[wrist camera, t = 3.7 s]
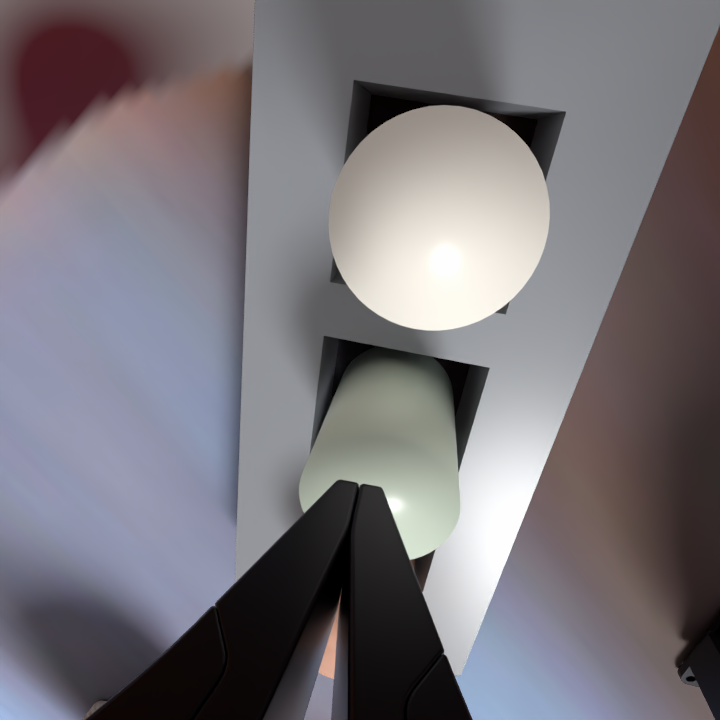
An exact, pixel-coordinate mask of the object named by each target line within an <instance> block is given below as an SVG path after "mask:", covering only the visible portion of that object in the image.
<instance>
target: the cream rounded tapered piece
mask: <svg viewBox="0 0 720 720" xmlns="http://www.w3.org/2000/svg"><path fill="white" fill-rule="evenodd" d="M549 221H550V203H549V196H548V190H547V185H546V182H545V179H544V176H543V172H542V170H541V168H540V166H539V164H538V162H537V160H536V158H535V156H534V155H533V153H532V152H531V150H530V149H529V147H528V146H527V144H526V143H525V142H524V141H523V140H522V139H521V138H520V137H519V136H518V135H517V133H515V132H514V131H513V130H512V129H510V128H509V127H508V126H507V125H505V124H504V123H502V122H501V121H499V120H497V119H496V118H494V117H492V116H490V115H488V114H485V113H483V112H480V111H478V110H475V109H470V108H466V107H462V106H450V105H439V106H427V107H423V108H418V109H414V110H411V111H408V112H405V113H403V114H400V115H398V116H396V117H394V118H392V119H390V120H388V121H387V122H385V123H383V124H382V125H380V126H379V127H378V128H376V129H375V130H374V131H372V132H371V133H370V134H369V135H368V136H367V137H366V138H365V139H364V140H363V141H362V142H360V144H359V145H358V146H357V147H356V149H355V150H354V151H353V152H352V154H351V155H350V156H349V158H348V160H347V161H346V163H345V164H344V166H343V168H342V170H341V172H340V174H339V176H338V179H337V181H336V184H335V187H334V190H333V193H332V197H331V203H330V209H329V224H328V226H329V238H330V244H331V249H332V253H333V256H334V259H335V262H336V265H337V267H338V269H339V271H340V273H341V275H342V278H343V279H344V281H345V282H346V284H347V285H348V287H349V288H350V290H351V291H352V292H353V293H354V294H355V295H356V297H357V298H358V299H359V300H360V301H361V302H362V303H363V304H365V305H366V306H367V307H368V308H369V309H371V310H372V311H373V312H375V313H376V314H378V315H379V316H381V317H383V318H385V319H387V320H389V321H391V322H393V323H396V324H398V325H401V326H405V327H409V328H413V329H419V330H432V331H440V330H449V329H455V328H459V327H464V326H467V325H470V324H473V323H475V322H478V321H480V320H482V319H484V318H486V317H488V316H490V315H492V314H493V313H495V312H496V311H498V310H499V309H501V308H502V307H503V306H505V305H506V304H507V303H508V302H509V301H510V300H512V299H513V298H514V297H515V296H516V295H517V293H518V292H519V291H520V290H521V289H522V288H523V287H524V285H525V284H526V283H527V281H528V280H529V278H530V277H531V276H532V274H533V272H534V270H535V268H536V267H537V265H538V263H539V261H540V258H541V255H542V253H543V250H544V248H545V244H546V240H547V236H548V230H549Z"/></svg>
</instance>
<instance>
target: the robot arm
mask: <svg viewBox="0 0 720 720" xmlns="http://www.w3.org/2000/svg"><path fill="white" fill-rule="evenodd" d="M340 596H341V598H340ZM339 601H340V605H339ZM338 605H339V614H338V626H337V641H336V656H335V671H334V686H333V701H332V716H331V720H472V717H471V715H470V712H469V710H468V708H467V705H466V703H465V700H464V698H463V696H462V693H461V691H460V688H459V686H458V684H457V681H456V679H455V676H454V673H453V671H452V668H451V665H450V663H449V660H448V658H447V656H446V655H444V648H443V645H442V643H441V640H440V637H439V635H438V632H437V629H436V627H435V624H434V622H433V619H432V616H431V614H430V611H429V608H428V606H427V603H426V601H425V598H424V595H423V593H422V590H421V588H420V585H419V582H418V580H417V577H416V574H415V572H414V569H413V567H412V564H411V561H410V559H409V556H408V554H407V551H406V548H405V546H404V543H403V540H402V538H401V535H400V533H399V530H398V527H397V525H396V522H395V519H394V517H393V514H392V512H391V509H390V506H389V504H388V501H387V499H386V496H385V493H384V491H383V489H382V488H381V487H379V486H374V485H369V484H361V485H360V487H359V484H358V483H357V482H352V481H347V480H341V479H340V480H337V481H336V482H335V483H334V484H333V485H332V486H331V487H330V488H329V489H328V490H327V491H326V492H325V493H324V494H323V495H322V496H321V497H320V498H319V499H318V500H317V501H316V502H315V503H314V504H313V505H312V506H311V507H310V508H309V509H308V510H307V511H306V512H305V513H304V514H303V515H302V516H301V517H300V518H299V519H298V520H297V521H296V522H295V523H294V524H293V525H292V526H291V527H290V528H289V529H288V530H287V531H286V532H285V533H284V534H283V535H282V536H281V537H280V538H279V539H278V540H277V541H276V542H275V543H274V544H273V545H272V546H271V547H270V548H269V549H268V550H267V551H266V552H265V553H264V554H263V555H262V556H261V557H260V558H259V559H258V560H257V561H256V562H255V563H254V564H253V565H252V566H251V567H250V568H249V569H248V570H247V571H246V572H245V573H244V574H243V575H242V576H241V577H240V578H239V579H238V580H237V582H236V583H235V584H234V585H233V586H232V587H231V588H230V589H229V590H228V591H227V592H226V593H225V594H224V595H223V596H222V597H221V598H220V599H219V600H218V601H217V602H216V603H215V606H212V607H210V608H209V609H208V610H207V611H206V612H205V613H204V614H203V616H202V617H201V618H200V619H199V620H198V621H197V622H196V623H195V624H194V625H193V626H192V627H191V628H189V629H188V630H187V631H186V632H185V633H184V634H183V635H182V636H181V637H180V638H179V639H178V640H177V641H176V642H175V643H174V644H173V645H172V646H171V647H170V648H169V649H167V650H166V651H165V652H164V653H163V654H162V655H161V656H160V657H159V658H157V659H156V660H155V661H154V662H153V663H152V664H150V665H149V666H148V667H147V668H146V669H145V670H143V671H142V672H141V673H140V674H139V675H138V676H136V677H135V678H134V679H133V680H132V681H131V682H129V683H128V684H127V685H126V686H125V687H123V688H122V689H121V690H120V691H119V692H117V693H116V694H115V695H114V696H113V697H111V698H110V699H109V700H108V701H107V702H105V703H104V704H103V705H102V706H100V707H99V708H98V709H97V710H96V711H94V712H93V713H92V714H91V715H90V716H88V717H87V718H86V719H85V720H304V717H305V713H306V710H307V707H308V704H309V700H310V697H311V694H312V691H313V688H314V684H315V681H316V678H317V675H318V671H319V668H320V665H321V662H322V659H323V655H324V652H325V649H326V646H327V643H328V639H329V636H330V633H331V630H332V626H333V623H334V620H335V616H336V613H337V609H338ZM678 675H679V677H680V679H681V681H682V682H683V683H685V684H688V685H692V686H696V687H700V689H701V691H702V693H703V695H704V697H705V699H706V701H707V703H708V705H709V707H710V709H711V711H712V714H713V716H714V718H715V720H720V614H719V615H718V616H717V618H716V619H715V620H714V622H713V623H712V624H711V626H710V627H709V628H708V630H707V631H706V633H705V634H704V635H703V637H702V638H701V639H700V641H699V642H698V643H697V645H696V646H695V647H694V649H693V650H692V652H691V653H690V654H689V656H688V657H687V658H686V660H685V661H684V662H683V664H682V665H681V666H680V668H679V669H678Z"/></svg>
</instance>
